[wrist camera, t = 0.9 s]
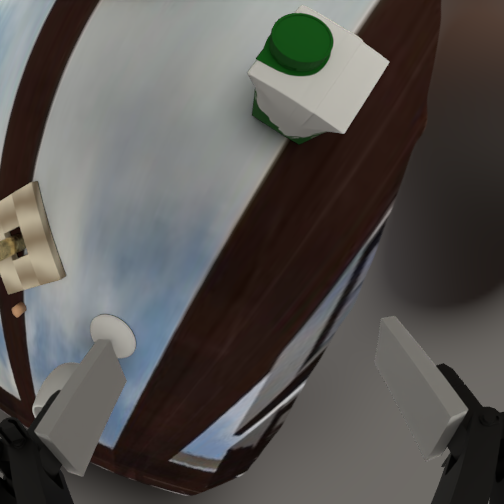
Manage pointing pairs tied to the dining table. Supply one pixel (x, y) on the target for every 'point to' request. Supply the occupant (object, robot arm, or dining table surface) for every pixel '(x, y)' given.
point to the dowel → (19, 309)
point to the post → (11, 246)
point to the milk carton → (312, 76)
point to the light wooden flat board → (28, 241)
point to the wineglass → (59, 376)
